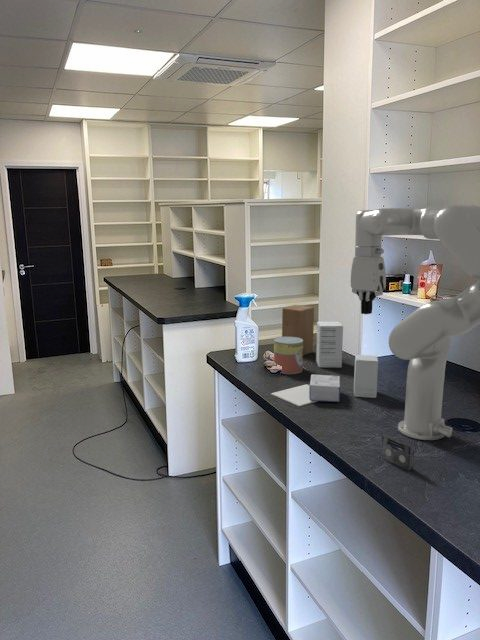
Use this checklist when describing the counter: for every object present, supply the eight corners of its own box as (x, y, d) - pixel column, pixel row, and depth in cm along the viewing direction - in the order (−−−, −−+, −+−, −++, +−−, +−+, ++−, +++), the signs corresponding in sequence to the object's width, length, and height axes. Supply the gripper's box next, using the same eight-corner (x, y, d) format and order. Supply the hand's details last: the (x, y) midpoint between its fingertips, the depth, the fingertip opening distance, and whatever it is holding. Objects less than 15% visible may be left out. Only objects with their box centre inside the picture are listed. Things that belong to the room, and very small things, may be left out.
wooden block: (281, 353, 225) (281, 307, 221) (294, 348, 233) (295, 304, 229) (300, 356, 219) (301, 310, 215) (313, 352, 226) (314, 307, 222)
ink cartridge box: (340, 403, 164) (339, 387, 178) (340, 387, 163) (340, 372, 177) (308, 401, 166) (310, 386, 180) (309, 385, 165) (311, 370, 179)
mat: (335, 396, 171) (335, 395, 171) (298, 406, 162) (299, 405, 162) (306, 385, 183) (306, 384, 183) (270, 394, 174) (271, 393, 173)
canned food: (295, 375, 193) (296, 344, 191) (268, 371, 199) (268, 341, 197) (307, 368, 203) (307, 338, 201) (281, 364, 209) (281, 335, 206)
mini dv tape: (412, 469, 123) (414, 445, 121) (408, 471, 122) (410, 447, 121) (385, 456, 129) (386, 434, 128) (381, 458, 128) (382, 435, 127)
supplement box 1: (342, 367, 203) (343, 326, 200) (318, 367, 203) (319, 326, 200) (337, 361, 213) (339, 321, 209) (315, 361, 213) (316, 321, 209)
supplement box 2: (376, 398, 170) (378, 361, 167) (353, 396, 171) (355, 360, 169) (375, 390, 177) (377, 355, 174) (353, 389, 178) (355, 354, 176)
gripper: (397, 252, 150) (394, 315, 153) (356, 251, 161) (355, 309, 165) (380, 253, 145) (379, 318, 148) (340, 252, 157) (339, 312, 160)
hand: (366, 313), depth 157 cm, fingers closed
